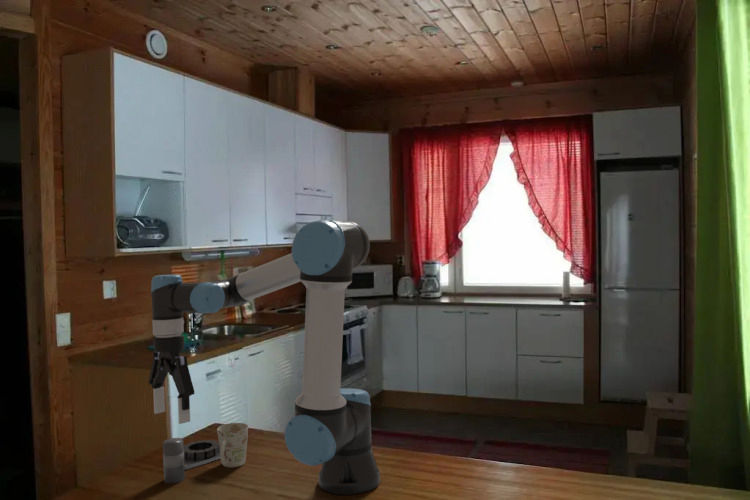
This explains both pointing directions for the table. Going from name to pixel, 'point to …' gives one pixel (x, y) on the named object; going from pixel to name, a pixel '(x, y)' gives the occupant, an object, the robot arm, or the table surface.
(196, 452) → the mount
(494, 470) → the table surface
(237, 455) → the mug
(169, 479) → the lens
